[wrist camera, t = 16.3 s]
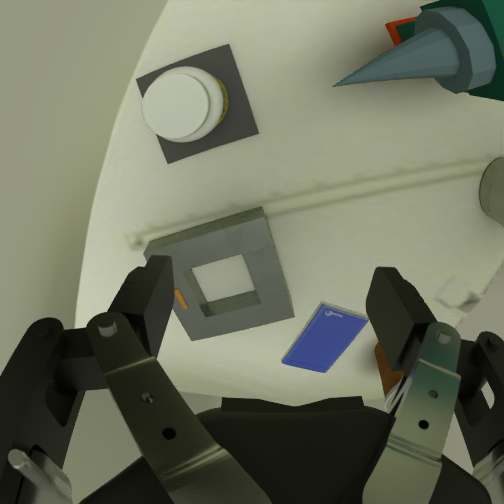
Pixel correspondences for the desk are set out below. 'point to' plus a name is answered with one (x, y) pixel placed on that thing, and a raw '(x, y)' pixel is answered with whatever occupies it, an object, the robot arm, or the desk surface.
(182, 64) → the pad
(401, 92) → the desk surface
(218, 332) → the block
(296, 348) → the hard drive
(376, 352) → the disposable coffee cup
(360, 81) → the power tool
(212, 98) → the pill bottle
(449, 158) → the desk surface
